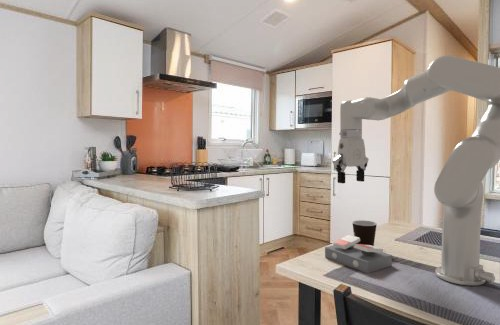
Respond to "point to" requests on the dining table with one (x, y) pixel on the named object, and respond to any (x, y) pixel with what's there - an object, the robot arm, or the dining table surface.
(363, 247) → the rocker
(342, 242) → the rocker
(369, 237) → the coffee mug
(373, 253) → the rocker switch panel
